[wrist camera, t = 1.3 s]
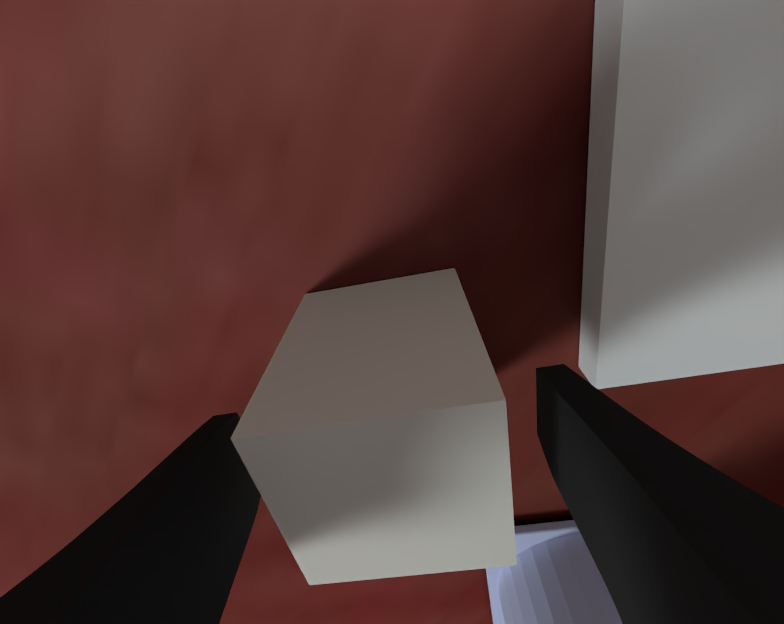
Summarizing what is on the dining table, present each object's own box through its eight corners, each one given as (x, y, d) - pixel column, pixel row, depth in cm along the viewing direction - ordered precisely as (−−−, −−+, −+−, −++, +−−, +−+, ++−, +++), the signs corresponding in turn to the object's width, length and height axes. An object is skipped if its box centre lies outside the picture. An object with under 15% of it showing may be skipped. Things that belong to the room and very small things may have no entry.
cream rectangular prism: (469, 389, 13) (516, 565, 8) (342, 407, 14) (309, 584, 8) (454, 267, 11) (505, 400, 6) (304, 293, 11) (230, 438, 6)
